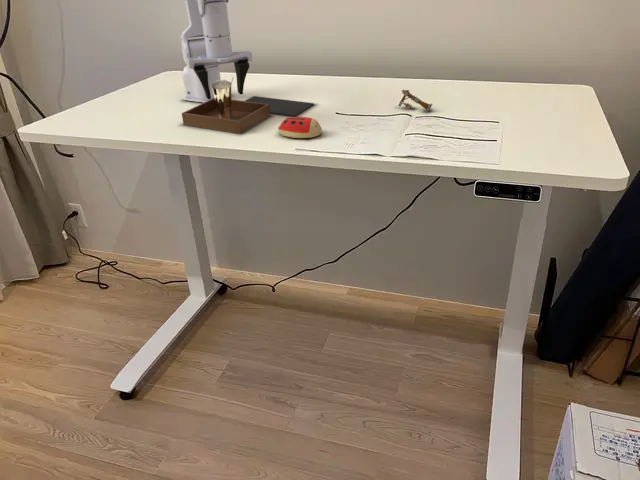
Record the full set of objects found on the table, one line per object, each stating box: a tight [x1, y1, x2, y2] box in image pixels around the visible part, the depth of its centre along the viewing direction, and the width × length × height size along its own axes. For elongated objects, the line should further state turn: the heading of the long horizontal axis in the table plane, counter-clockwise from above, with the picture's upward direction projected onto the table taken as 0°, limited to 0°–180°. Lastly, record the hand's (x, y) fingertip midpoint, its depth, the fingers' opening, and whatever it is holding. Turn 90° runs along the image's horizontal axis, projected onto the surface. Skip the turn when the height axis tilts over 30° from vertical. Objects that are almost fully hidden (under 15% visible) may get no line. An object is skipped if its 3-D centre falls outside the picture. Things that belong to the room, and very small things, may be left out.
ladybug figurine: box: [277, 116, 323, 139], centre depth 124 cm, size 7×10×4 cm
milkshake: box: [212, 77, 234, 119], centre depth 132 cm, size 5×5×10 cm
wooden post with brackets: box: [398, 89, 433, 113], centre depth 136 cm, size 2×8×4 cm, turn 62°
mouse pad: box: [245, 95, 315, 117], centre depth 142 cm, size 18×10×1 cm, turn 63°
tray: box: [181, 98, 272, 135], centre depth 134 cm, size 16×13×3 cm
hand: (224, 95), depth 131 cm, fingers open, 7 cm apart
